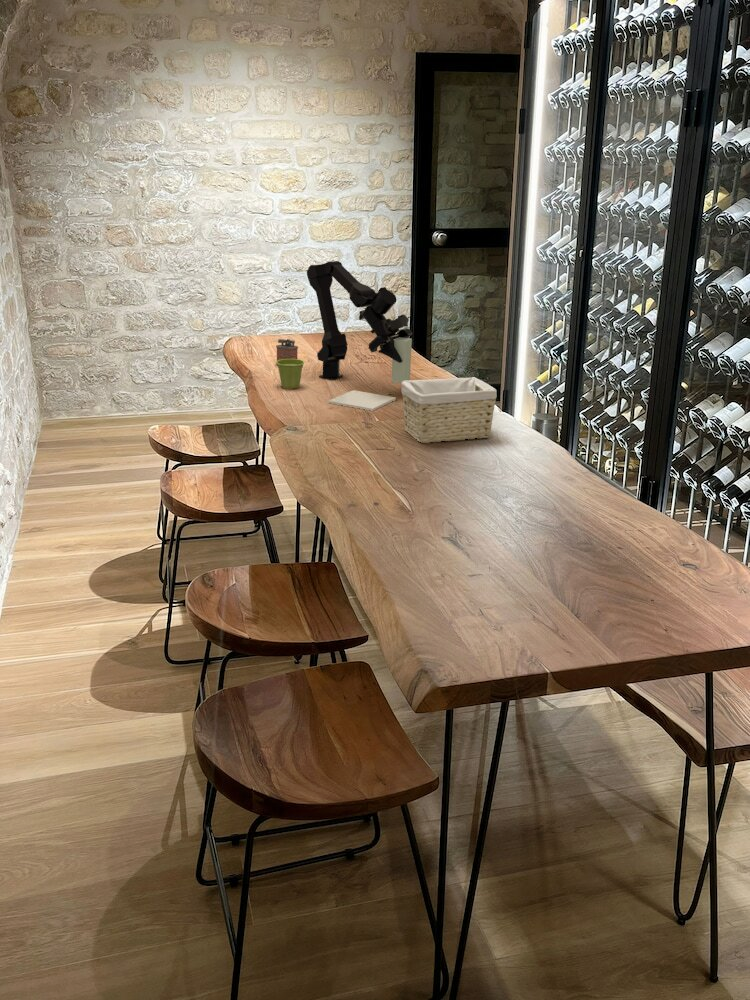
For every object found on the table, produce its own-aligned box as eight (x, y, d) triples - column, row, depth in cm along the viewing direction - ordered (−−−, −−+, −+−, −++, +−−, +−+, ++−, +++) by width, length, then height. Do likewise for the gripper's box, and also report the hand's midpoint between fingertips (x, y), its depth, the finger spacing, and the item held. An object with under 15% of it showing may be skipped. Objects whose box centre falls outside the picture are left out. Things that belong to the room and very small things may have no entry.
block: (397, 379, 288) (399, 337, 283) (409, 381, 286) (411, 338, 281) (391, 381, 285) (393, 339, 279) (403, 383, 283) (405, 341, 277)
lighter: (298, 365, 323) (298, 338, 320) (297, 367, 320) (297, 340, 316) (277, 364, 324) (277, 337, 320) (275, 366, 321) (275, 339, 317)
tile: (353, 392, 290) (353, 390, 289) (395, 399, 283) (395, 397, 282) (328, 403, 276) (328, 400, 276) (372, 411, 270) (372, 408, 269)
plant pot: (300, 391, 289) (300, 365, 285) (272, 389, 290) (272, 363, 287) (307, 384, 297) (307, 359, 294) (281, 382, 299) (281, 357, 296)
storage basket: (416, 445, 239) (419, 393, 234) (397, 428, 254) (399, 379, 248) (495, 440, 246) (500, 389, 241) (472, 424, 261) (476, 375, 255)
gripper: (377, 310, 271) (406, 350, 270) (408, 303, 286) (435, 341, 284) (356, 332, 278) (383, 371, 277) (387, 324, 293) (413, 361, 291)
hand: (405, 360), depth 282 cm, fingers closed on block, 5 cm apart
